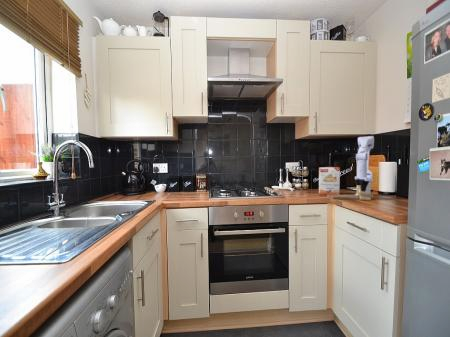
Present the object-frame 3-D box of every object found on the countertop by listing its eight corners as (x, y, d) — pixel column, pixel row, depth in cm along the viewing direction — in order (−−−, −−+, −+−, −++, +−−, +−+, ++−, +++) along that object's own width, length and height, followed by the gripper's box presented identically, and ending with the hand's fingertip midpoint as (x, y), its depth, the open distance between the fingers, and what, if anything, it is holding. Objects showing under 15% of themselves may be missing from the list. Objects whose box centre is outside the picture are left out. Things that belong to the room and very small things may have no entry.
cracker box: (320, 194, 168) (320, 167, 168) (318, 193, 174) (318, 167, 173) (339, 194, 165) (340, 167, 164) (337, 193, 171) (338, 167, 170)
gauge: (353, 197, 151) (353, 185, 150) (363, 197, 150) (363, 185, 150) (360, 199, 141) (361, 186, 141) (370, 199, 141) (370, 186, 140)
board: (327, 196, 157) (327, 194, 157) (362, 196, 155) (362, 194, 155) (333, 199, 145) (333, 197, 145) (371, 199, 143) (372, 197, 143)
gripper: (350, 170, 153) (350, 189, 154) (361, 171, 139) (360, 192, 139) (360, 170, 153) (360, 189, 153) (372, 171, 138) (372, 192, 139)
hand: (361, 190), depth 146 cm, fingers closed on gauge, 4 cm apart
